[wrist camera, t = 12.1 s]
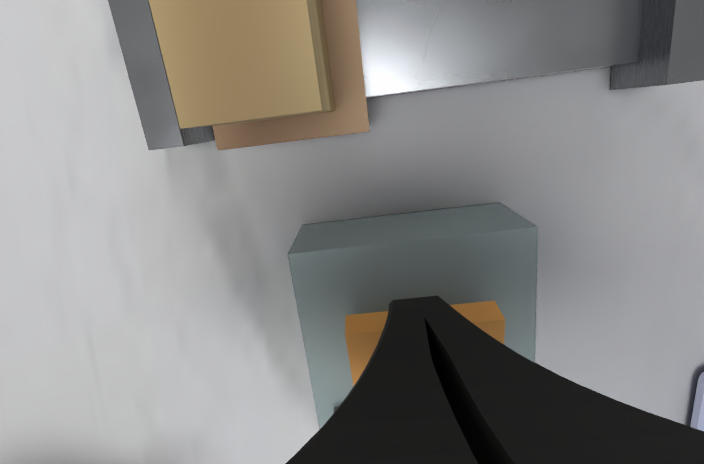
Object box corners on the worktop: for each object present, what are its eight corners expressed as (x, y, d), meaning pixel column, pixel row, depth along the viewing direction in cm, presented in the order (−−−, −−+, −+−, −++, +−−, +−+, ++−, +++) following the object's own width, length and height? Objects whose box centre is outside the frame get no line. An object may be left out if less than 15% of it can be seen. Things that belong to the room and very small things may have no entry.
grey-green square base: (499, 202, 14) (556, 239, 10) (501, 371, 16) (549, 458, 12) (302, 224, 14) (280, 269, 10) (329, 386, 16) (319, 476, 12)
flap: (490, 406, 12) (494, 300, 10) (498, 428, 11) (505, 319, 10) (362, 416, 12) (345, 315, 11) (362, 439, 12) (345, 335, 10)
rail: (657, -78, 11) (735, -128, 9) (642, 85, 12) (707, 79, 10) (150, -3, 12) (100, -30, 10) (185, 143, 13) (148, 150, 11)
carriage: (349, -44, 11) (335, -233, 5) (367, 127, 13) (374, 141, 6) (214, -24, 11) (45, -180, 5) (247, 142, 13) (143, 170, 7)
